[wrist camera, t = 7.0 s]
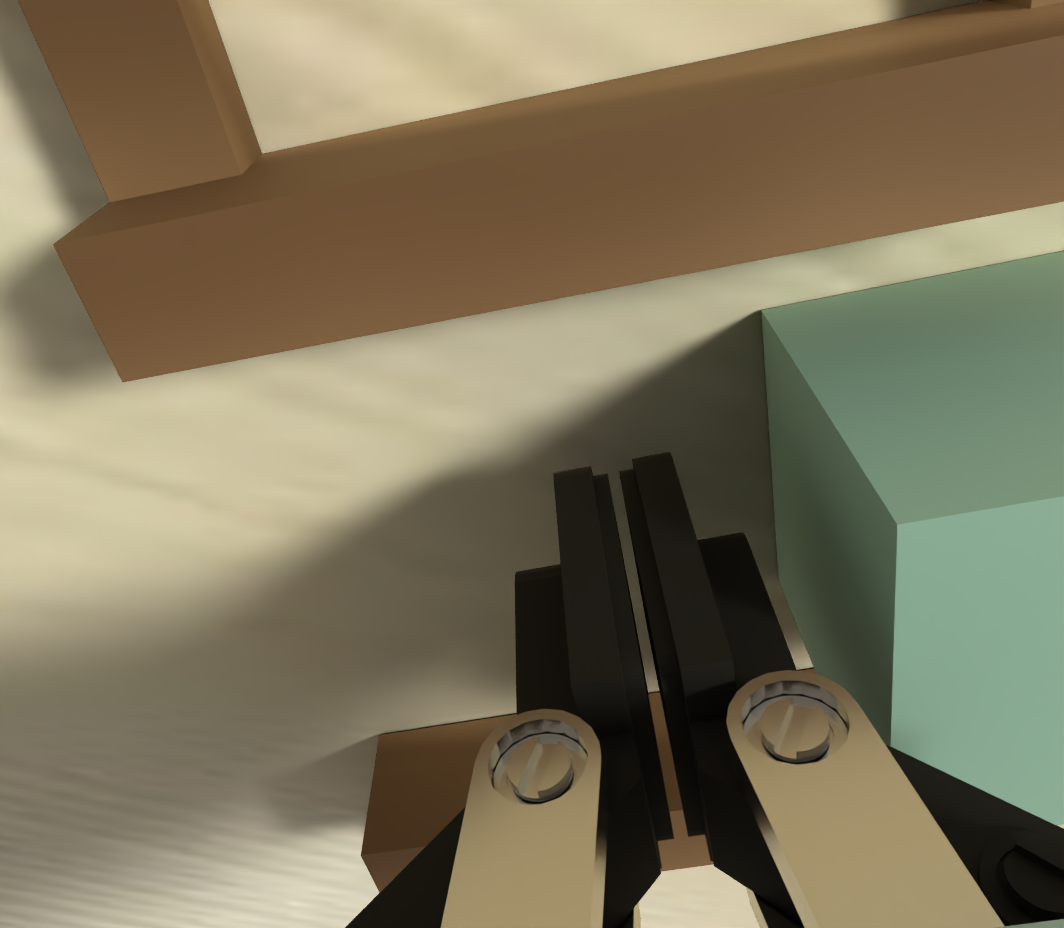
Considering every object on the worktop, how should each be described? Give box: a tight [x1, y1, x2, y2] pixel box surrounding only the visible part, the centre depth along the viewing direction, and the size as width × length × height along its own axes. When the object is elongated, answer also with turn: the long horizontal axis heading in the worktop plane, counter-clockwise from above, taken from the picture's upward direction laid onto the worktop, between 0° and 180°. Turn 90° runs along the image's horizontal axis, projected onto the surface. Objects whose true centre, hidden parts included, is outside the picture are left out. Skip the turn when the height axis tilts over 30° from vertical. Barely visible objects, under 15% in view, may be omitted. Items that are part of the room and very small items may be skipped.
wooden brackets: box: [18, 0, 1064, 892], centre depth 13 cm, size 18×12×2 cm
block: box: [761, 251, 1064, 825], centre depth 11 cm, size 5×5×5 cm
